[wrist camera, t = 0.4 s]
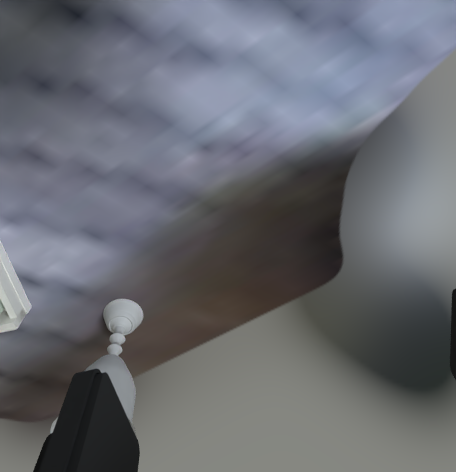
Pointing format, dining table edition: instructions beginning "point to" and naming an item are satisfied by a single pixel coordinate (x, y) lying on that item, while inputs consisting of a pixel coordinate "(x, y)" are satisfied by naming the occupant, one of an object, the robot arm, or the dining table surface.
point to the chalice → (119, 351)
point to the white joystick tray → (11, 295)
